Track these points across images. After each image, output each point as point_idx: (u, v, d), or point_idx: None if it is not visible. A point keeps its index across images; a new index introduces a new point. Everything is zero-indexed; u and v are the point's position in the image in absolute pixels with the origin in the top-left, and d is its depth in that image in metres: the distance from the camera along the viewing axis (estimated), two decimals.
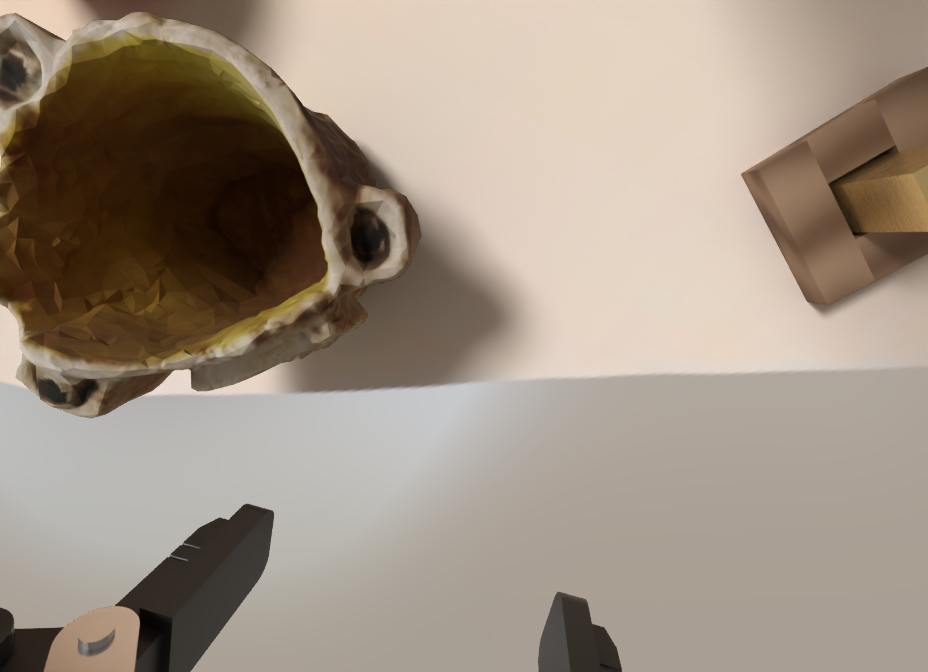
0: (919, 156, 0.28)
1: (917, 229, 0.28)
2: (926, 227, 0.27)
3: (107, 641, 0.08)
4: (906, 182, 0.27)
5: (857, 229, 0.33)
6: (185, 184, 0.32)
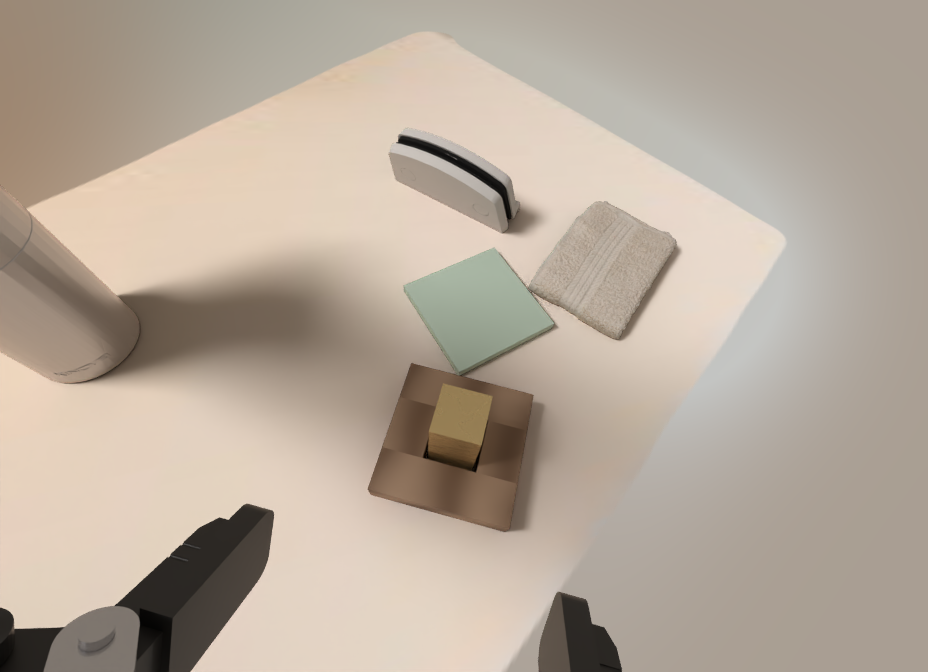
0: None
1: (477, 450, 0.33)
2: (476, 447, 0.33)
3: (107, 640, 0.08)
4: (435, 436, 0.33)
5: (469, 465, 0.38)
6: None
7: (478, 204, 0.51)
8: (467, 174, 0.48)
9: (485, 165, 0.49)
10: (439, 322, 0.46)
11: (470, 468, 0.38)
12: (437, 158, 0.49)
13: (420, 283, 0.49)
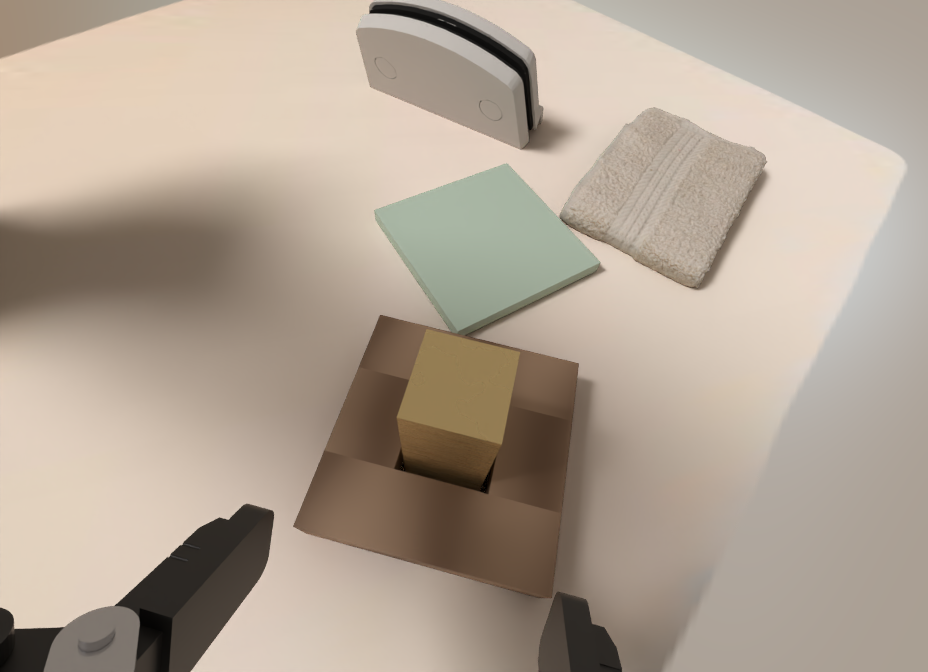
0: None
1: (492, 454, 0.17)
2: (491, 448, 0.17)
3: (107, 640, 0.08)
4: (410, 427, 0.17)
5: (477, 482, 0.22)
6: None
7: (487, 99, 0.35)
8: (471, 45, 0.32)
9: (497, 33, 0.33)
10: (427, 260, 0.30)
11: (477, 486, 0.22)
12: (426, 25, 0.33)
13: (399, 207, 0.33)
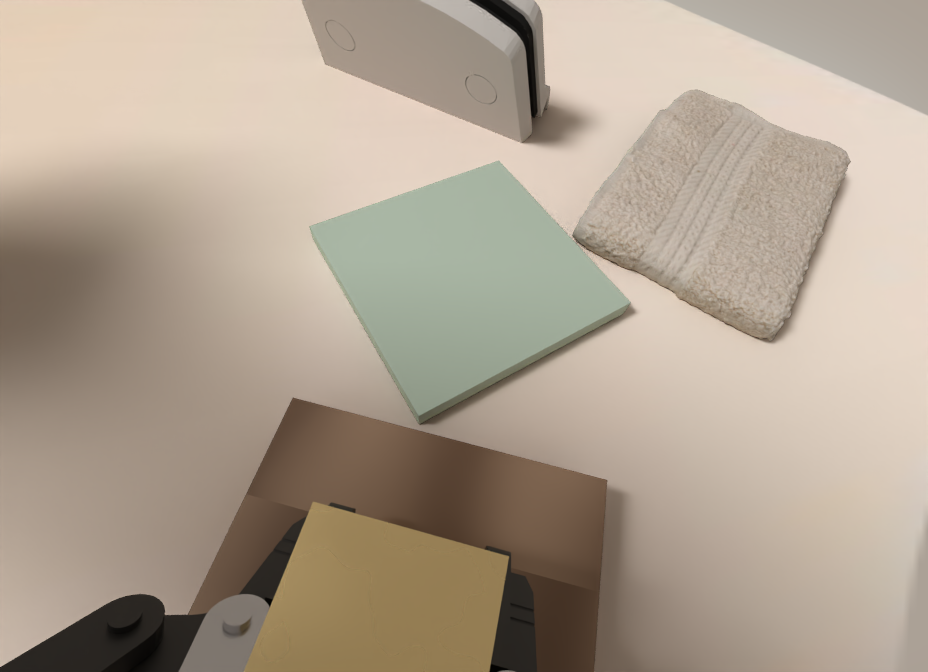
0: None
1: None
2: None
3: (243, 627, 0.08)
4: None
5: None
6: None
7: (476, 73, 0.26)
8: None
9: None
10: (379, 301, 0.21)
11: None
12: None
13: (345, 222, 0.23)
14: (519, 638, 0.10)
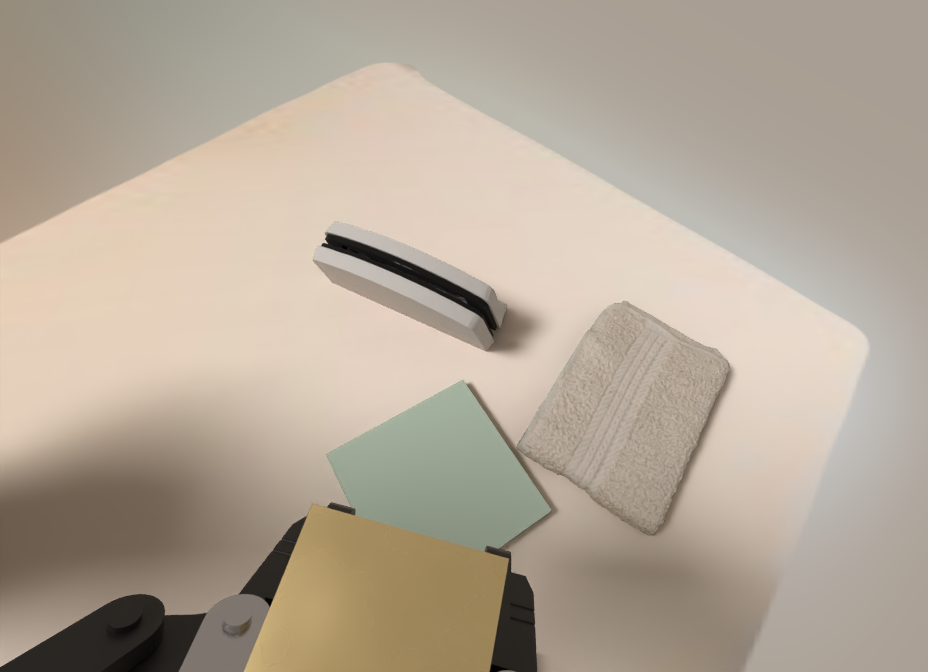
0: None
1: None
2: None
3: (243, 627, 0.08)
4: None
5: None
6: None
7: (449, 325, 0.35)
8: (428, 292, 0.32)
9: (454, 275, 0.33)
10: (376, 520, 0.30)
11: None
12: (382, 270, 0.33)
13: (351, 448, 0.33)
14: (519, 638, 0.10)
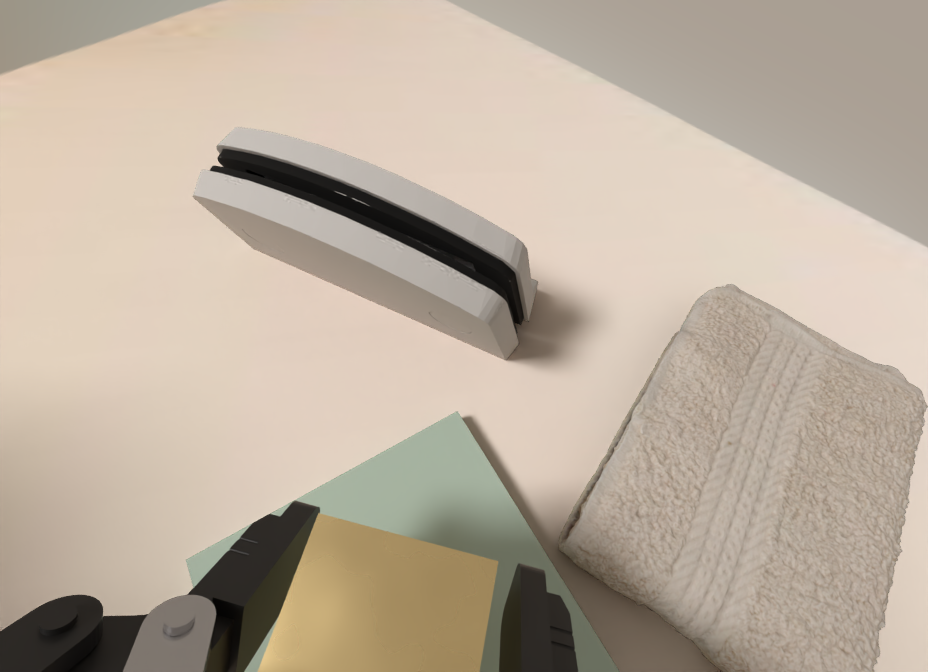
0: None
1: None
2: None
3: (187, 628, 0.08)
4: None
5: None
6: None
7: (443, 314, 0.19)
8: (402, 248, 0.16)
9: (452, 216, 0.17)
10: None
11: None
12: (311, 207, 0.17)
13: None
14: (560, 664, 0.10)
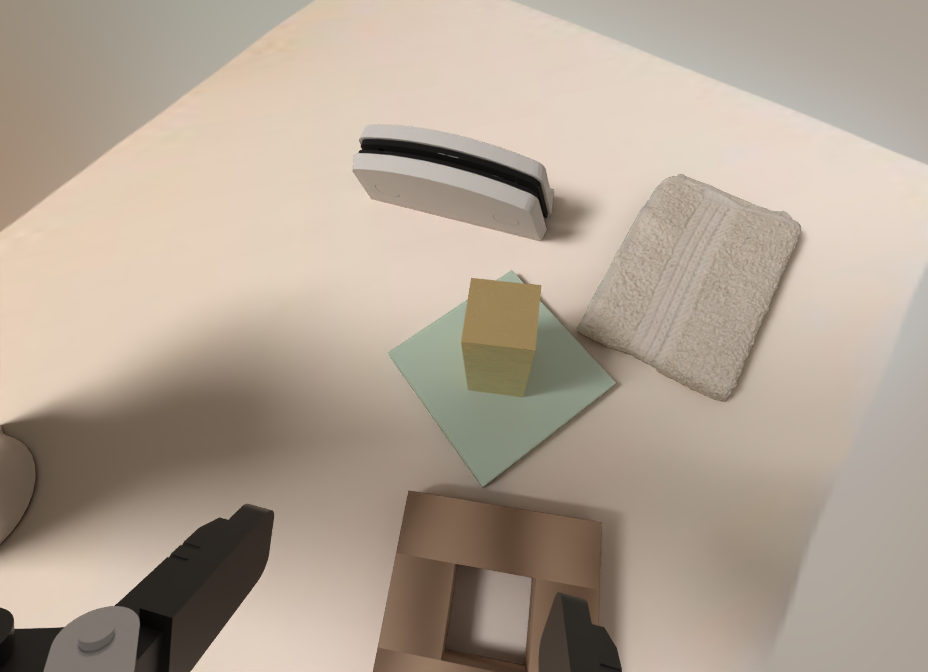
0: None
1: (529, 359, 0.25)
2: (528, 354, 0.24)
3: (107, 641, 0.08)
4: (471, 347, 0.24)
5: (521, 386, 0.29)
6: None
7: (502, 214, 0.34)
8: (479, 178, 0.31)
9: (503, 156, 0.31)
10: (445, 406, 0.32)
11: (522, 389, 0.30)
12: (428, 164, 0.32)
13: (411, 345, 0.34)
14: None
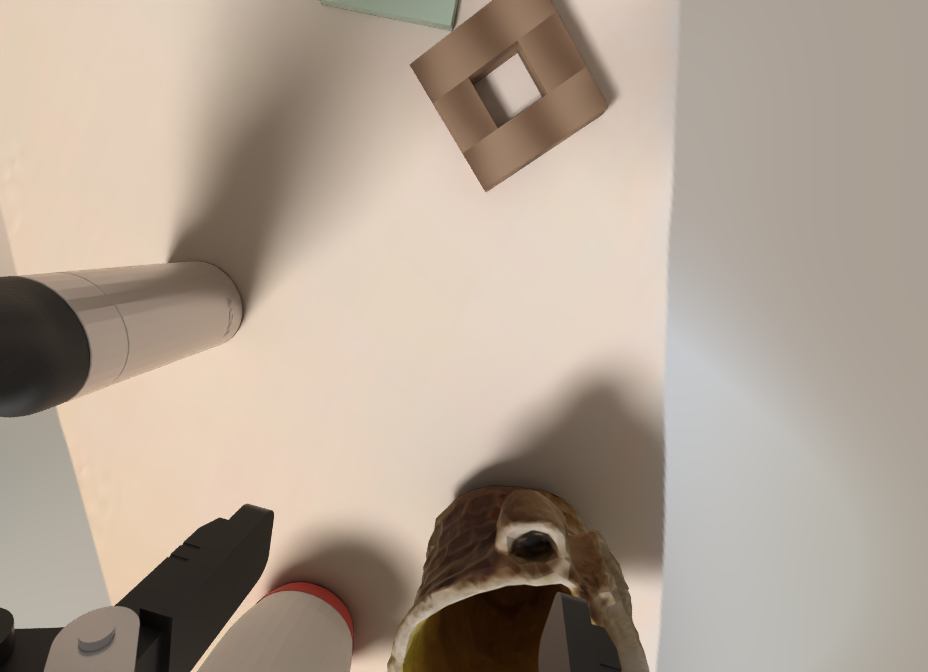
0: None
1: None
2: None
3: (106, 641, 0.08)
4: None
5: None
6: (484, 635, 0.43)
7: None
8: None
9: None
10: None
11: None
12: None
13: None
14: None
